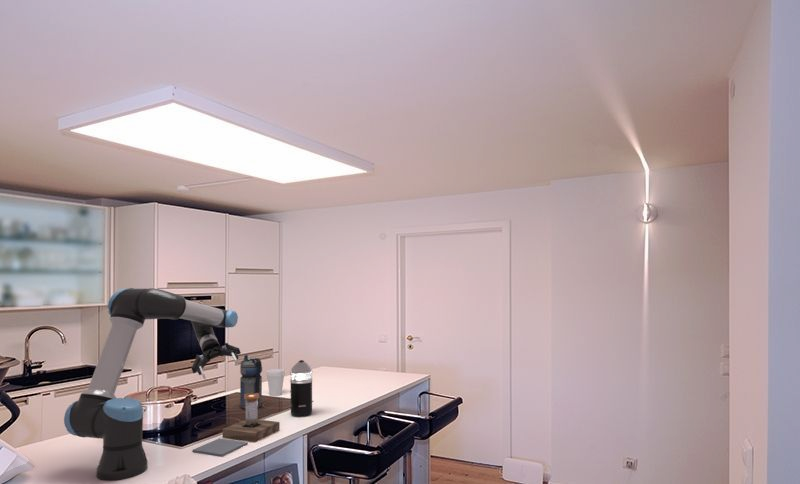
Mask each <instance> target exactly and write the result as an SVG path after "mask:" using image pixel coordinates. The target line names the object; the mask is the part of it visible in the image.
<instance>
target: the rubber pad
mask: <svg viewBox="0 0 800 484" xmlns="http://www.w3.org/2000/svg"><path fill="white" fill-rule="evenodd" d="M248 443H249V441H242V440H235V439H228V438H220V437H219V438H217V439H215V440H212V441H210V442H208V443H205V444H203V445H200V446H197V447H196V448H194V449H192V453H195V454H196V453H197V454H202V455H203V454H204V455H209V456H216V457H221V456H222V457H223V458H224V457H225V456H226V455H230V453H233V452H235V451H237V450H239V449H241V447H242V448H243V446H244V447H246V446H248V445H249V444H248ZM247 444H248V445H247Z"/></svg>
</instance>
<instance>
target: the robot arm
mask: <svg viewBox="0 0 800 484" xmlns="http://www.w3.org/2000/svg"><path fill="white" fill-rule="evenodd" d="M107 309H108V314H109V315H110V317H109V321H110V322H111V327H110V330H109V333H108V335H107V338H106V341H105V343H104V346H103V348H102V350H101V353H100V357H99V359H98V361H97V364H96V366H95V369H94V371H93V375H92V376H91V380H90V382H89V385H88V387H87V389H86V390H84V391H83V392H81V393H80V395H79V398H78V399H77V400H75V401H74V402H72V404H70V405H68V407H67V408H66V410H65V413H64V417H63V422H64V423H63V424H64V427H65V428H66V431H67V432H68V433H69V434H70V435H72V436H74V437H75V436H76V437H79V438H91V439H102V440H103V441H102V445H103V446H102V454H101V456H100V459H99V462H98V465H97V467H96V473H95V474H96V478H97V479H99V480H103V481H117V480H122V479H123V480H124V479H128V478H131V477H135V476H138V475H140V474H142V473H144V472H145V471H146V470H148V464H149V463H148V458H147V456H146V452H145V450H144V447H143V427H144V426H143V424H144V411H143V404H142V402H141V401H140V400H138V399H135V398H131V397H116V395H115V393H116V390H117V387H118V385H119V381H120V379H121V376H122V374H123V370H124V368H125V364H126V361H127V358H128V356H129V354H130V351H131V348H132V346H133V345H132V344H133V343H134V339H135V336H136V334H137V331H138V330H139V329H142V328H143V326H144V324H145V321H146V320H160V319H161V320H162V319H164V320H165V319H166V320H167V319H169V320H173V321H174V320H178V319H182V320H186V321H190V323H191V324H192V328H193V330H194V333H195V337H196V339H197V341H198V343H199V346H200V348H201V351H202V354H201V355H199V354H196V355H195V360H194V361H193V364H192V365H191V370H192V373H193V374H196V373H197V374H198V376H201V375H202V378H203V380H206V379H207V378H206V376H205V373H204V370H203V369H204V367H205V366H206V365H207V363H210V362H211V360H213V359H215V358H218V357H225V356H226V357H232V359H233V361H234V363H235V364H236V365H235V366H238V365H239V361H238V359H239V355H240V354H241V353H242V352H241V350H240V348H239V347H237V346H235V345H230V344H229V343H228V342H225V343H224V345H222V346H221V345H220V343H219V341H218V338H217V336H216V334H215V331H214V329H213V328H233V327H235V326H236V325H237V323H238V319H239V316H238V313H237V312H236V311H235V310H232V309H231V310H230V309H228V310H227V309H222V308H218V307H213V306H210V305H206V304H202V303H199V302H195V301H191V300H188V299H186V298H185V297H184V296H182V295H180V294H177V293H174V292H171V291H166V290H163V289H158V288H153V287H152V288H151V287H150V288H133V287H130V288H127V287H126V288H123V289H119V290H117V291H115V292H114V293H113V294H112V295H111V296H110V298H109V300H108V304H107Z"/></svg>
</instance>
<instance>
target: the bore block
mask: <svg viewBox="0 0 800 484" xmlns="http://www.w3.org/2000/svg"><path fill="white" fill-rule="evenodd" d="M280 424H281V423H280V421H276V420H275V421H274V420H266V419H259V418H258V426H257V427H254V428H247V427H246V419H243V420H241V421H239V422H236V423H234V424H232V425H229V426H225V427H224V428H222V439H228V440H235V441H242V442H248V443H249V442H250V443H256V442H258V440H259V441H261V440H263V439H264V438H268V437H269V436H271V435H273V434H275V433H278V432H279V431H280V426H281V425H280ZM262 438H263V439H262ZM260 439H261V440H260Z"/></svg>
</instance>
